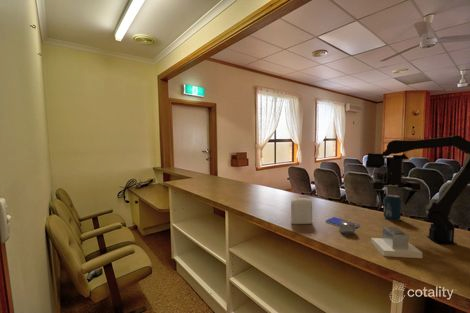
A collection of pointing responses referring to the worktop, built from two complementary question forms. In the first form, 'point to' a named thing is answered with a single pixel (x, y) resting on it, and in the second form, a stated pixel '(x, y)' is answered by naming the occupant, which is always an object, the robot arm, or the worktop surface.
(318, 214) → the worktop surface
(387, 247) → the stand
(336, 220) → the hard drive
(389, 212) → the soda can
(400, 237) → the housing
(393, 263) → the worktop surface
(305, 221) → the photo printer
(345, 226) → the tin
